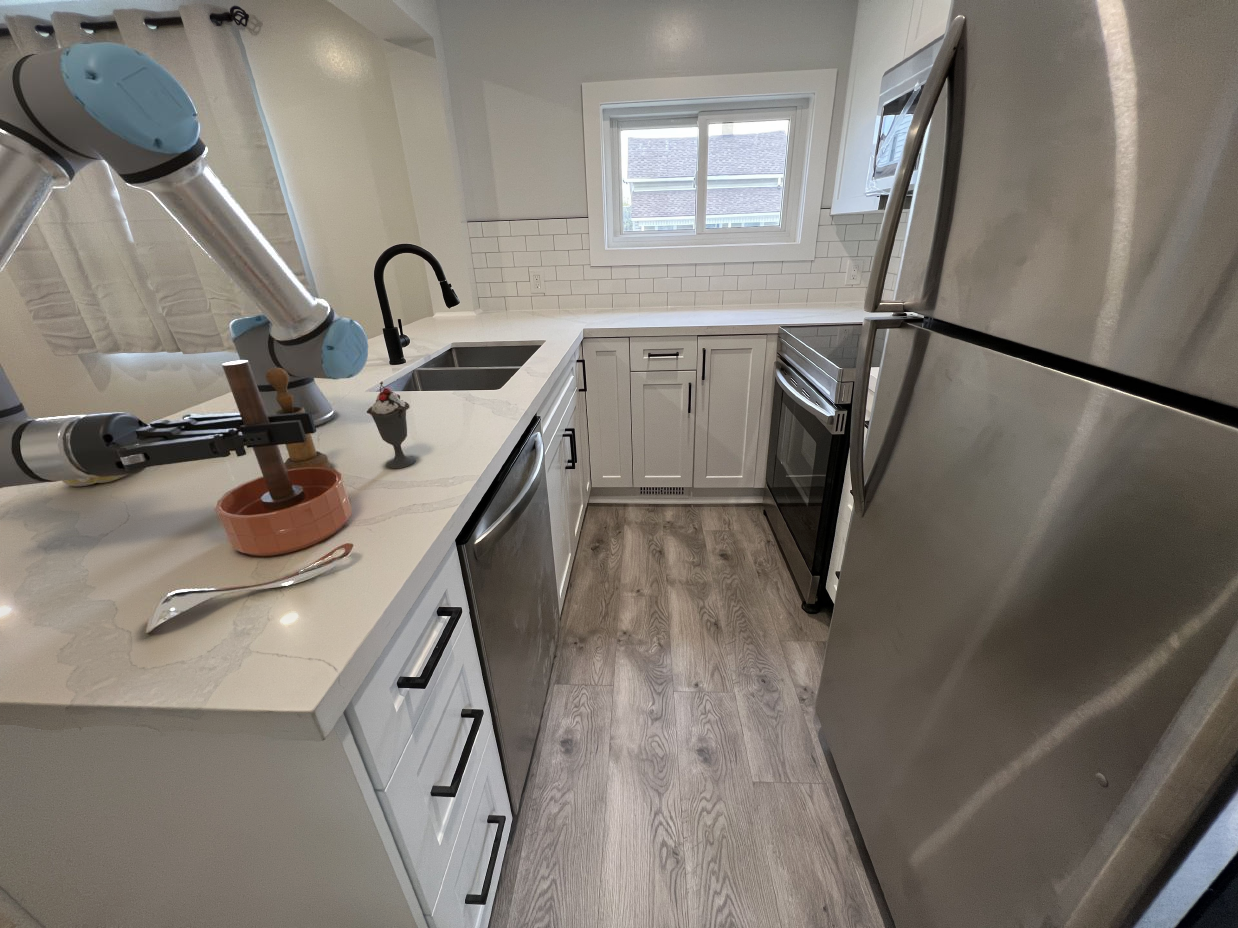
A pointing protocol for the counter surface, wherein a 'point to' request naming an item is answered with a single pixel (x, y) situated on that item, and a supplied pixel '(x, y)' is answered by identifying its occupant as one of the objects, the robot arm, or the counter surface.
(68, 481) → the bread roll
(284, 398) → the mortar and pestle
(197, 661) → the counter surface
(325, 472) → the bowl
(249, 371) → the stick
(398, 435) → the sundae
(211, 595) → the metal spatula
